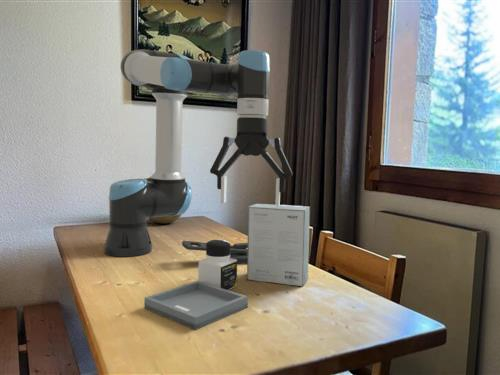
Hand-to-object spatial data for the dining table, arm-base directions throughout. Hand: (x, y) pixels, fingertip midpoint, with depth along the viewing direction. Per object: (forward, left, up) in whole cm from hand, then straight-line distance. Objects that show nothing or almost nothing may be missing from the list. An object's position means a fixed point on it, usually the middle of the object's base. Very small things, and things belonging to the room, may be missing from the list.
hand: (250, 204), depth 109 cm
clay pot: (-81, +40, -22) cm, 93 cm away
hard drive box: (+1, +11, -22) cm, 24 cm away
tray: (0, -18, -21) cm, 28 cm away
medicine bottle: (-6, -5, -22) cm, 23 cm away
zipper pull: (-21, +13, -22) cm, 33 cm away
